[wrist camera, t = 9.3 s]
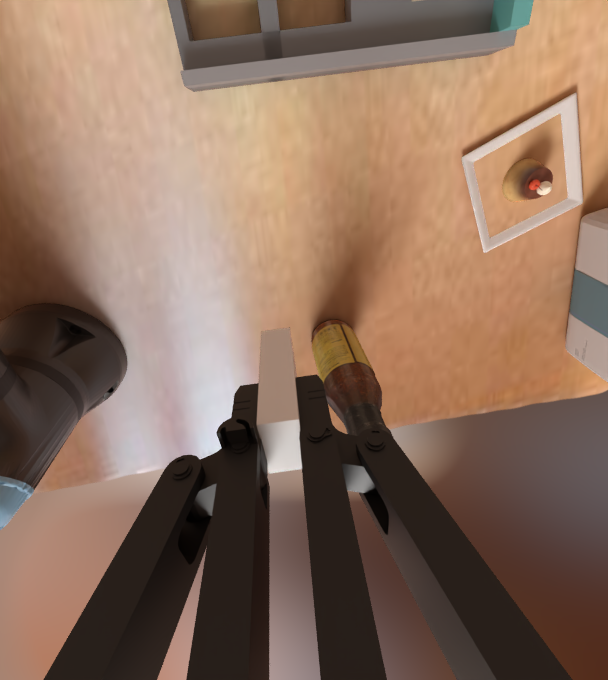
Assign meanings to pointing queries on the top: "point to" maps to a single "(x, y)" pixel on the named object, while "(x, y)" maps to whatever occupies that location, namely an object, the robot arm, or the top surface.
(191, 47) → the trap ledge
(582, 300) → the stereo radio cassette player
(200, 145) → the top surface
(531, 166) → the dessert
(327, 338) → the sauce bottle
